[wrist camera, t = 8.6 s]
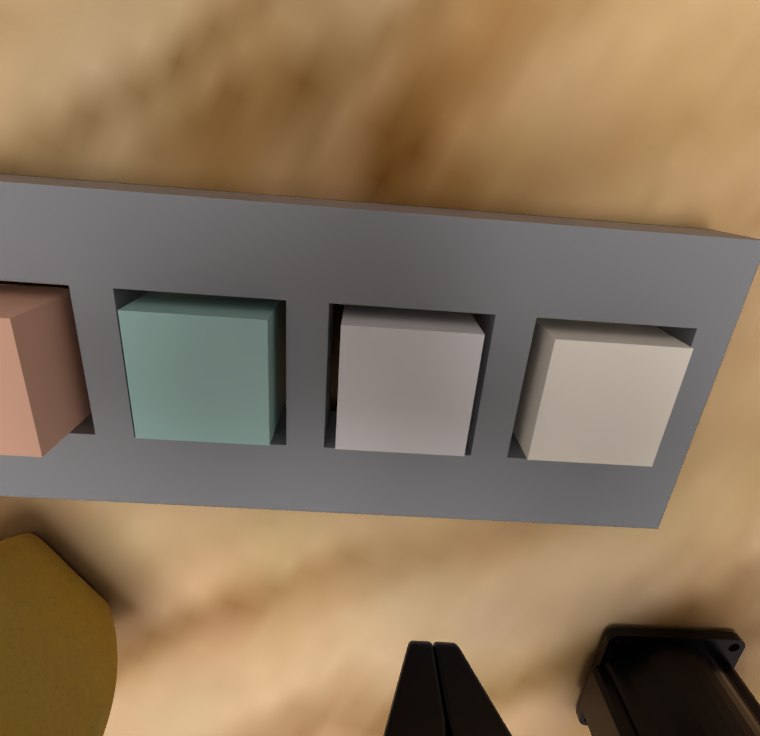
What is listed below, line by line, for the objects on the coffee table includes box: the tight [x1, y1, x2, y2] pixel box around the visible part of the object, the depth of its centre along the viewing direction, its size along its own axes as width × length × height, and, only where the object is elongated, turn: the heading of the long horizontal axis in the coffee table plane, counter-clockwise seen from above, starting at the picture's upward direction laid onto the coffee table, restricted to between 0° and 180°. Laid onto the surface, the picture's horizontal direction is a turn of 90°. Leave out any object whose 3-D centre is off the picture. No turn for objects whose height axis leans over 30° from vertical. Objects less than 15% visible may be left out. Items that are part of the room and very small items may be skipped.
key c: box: [118, 291, 286, 446], centre depth 15 cm, size 4×4×3 cm
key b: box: [335, 304, 485, 456], centre depth 16 cm, size 4×4×3 cm
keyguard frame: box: [0, 174, 760, 529], centre depth 16 cm, size 25×10×2 cm, turn 86°
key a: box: [513, 318, 694, 467], centre depth 16 cm, size 4×4×3 cm
